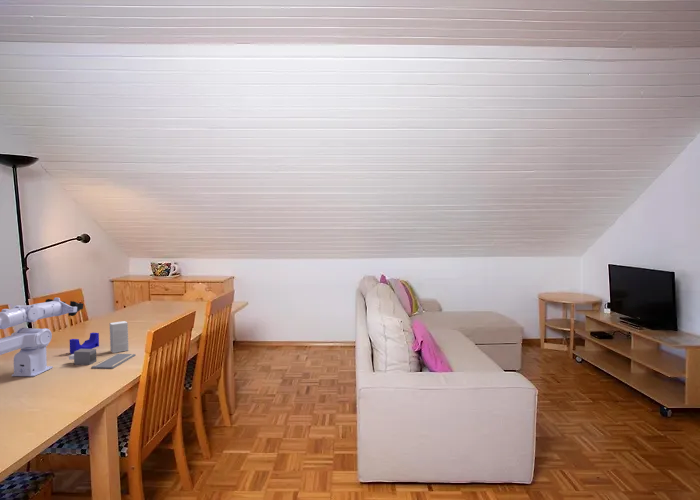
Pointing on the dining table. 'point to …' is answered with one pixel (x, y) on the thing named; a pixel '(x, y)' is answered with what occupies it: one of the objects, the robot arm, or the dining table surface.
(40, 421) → the dining table surface
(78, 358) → the plug
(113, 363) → the felt mat
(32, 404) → the dining table surface
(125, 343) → the skincare box
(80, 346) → the blue notched bracket
